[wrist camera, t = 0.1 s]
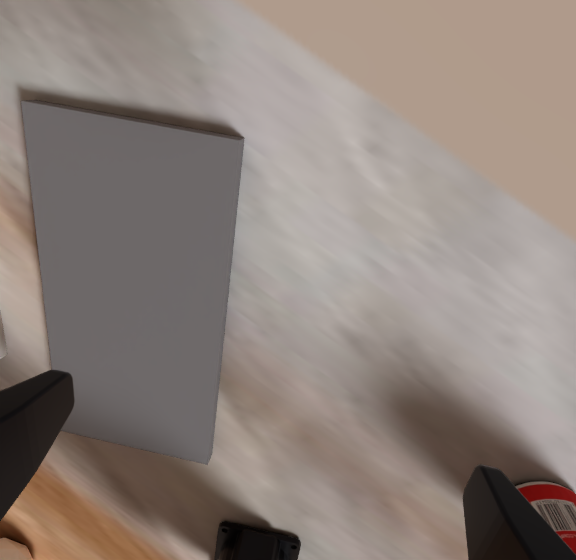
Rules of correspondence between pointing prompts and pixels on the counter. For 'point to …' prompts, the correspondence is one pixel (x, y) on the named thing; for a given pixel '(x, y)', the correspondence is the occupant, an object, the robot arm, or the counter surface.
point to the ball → (13, 550)
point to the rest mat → (135, 270)
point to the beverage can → (554, 507)
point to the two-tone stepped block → (2, 340)
